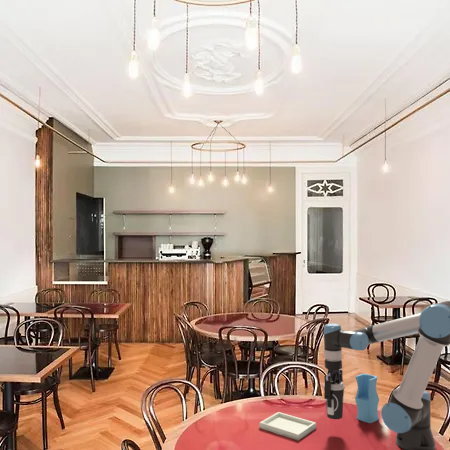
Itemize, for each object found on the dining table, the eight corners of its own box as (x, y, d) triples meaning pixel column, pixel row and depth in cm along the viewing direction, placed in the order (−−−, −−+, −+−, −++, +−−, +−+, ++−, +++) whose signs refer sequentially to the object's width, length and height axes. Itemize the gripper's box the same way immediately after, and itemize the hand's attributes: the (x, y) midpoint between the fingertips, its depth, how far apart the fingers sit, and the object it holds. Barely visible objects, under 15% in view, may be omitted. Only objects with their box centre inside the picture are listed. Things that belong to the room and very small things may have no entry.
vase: (355, 418, 215) (355, 376, 215) (364, 414, 220) (364, 373, 221) (370, 423, 209) (370, 380, 209) (379, 419, 214) (378, 376, 215)
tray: (316, 428, 204) (316, 422, 204) (298, 440, 191) (298, 434, 191) (278, 417, 216) (278, 411, 216) (259, 428, 204) (259, 422, 204)
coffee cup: (346, 421, 194) (345, 385, 194) (323, 420, 195) (322, 385, 196) (345, 413, 203) (344, 379, 204) (323, 412, 205) (322, 378, 206)
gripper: (335, 353, 211) (336, 403, 210) (314, 362, 195) (316, 416, 194) (350, 355, 206) (352, 406, 205) (330, 365, 190) (332, 420, 189)
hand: (334, 411), depth 199 cm, fingers closed on coffee cup, 7 cm apart
